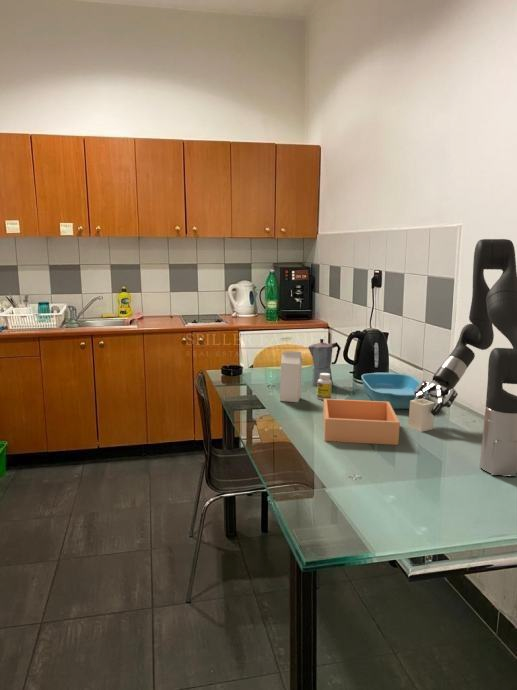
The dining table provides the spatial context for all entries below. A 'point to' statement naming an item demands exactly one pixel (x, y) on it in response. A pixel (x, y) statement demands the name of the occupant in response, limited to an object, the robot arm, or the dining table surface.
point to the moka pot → (322, 359)
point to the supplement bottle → (324, 386)
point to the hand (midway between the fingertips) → (422, 410)
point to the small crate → (421, 415)
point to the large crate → (360, 421)
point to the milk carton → (290, 376)
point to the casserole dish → (391, 388)
